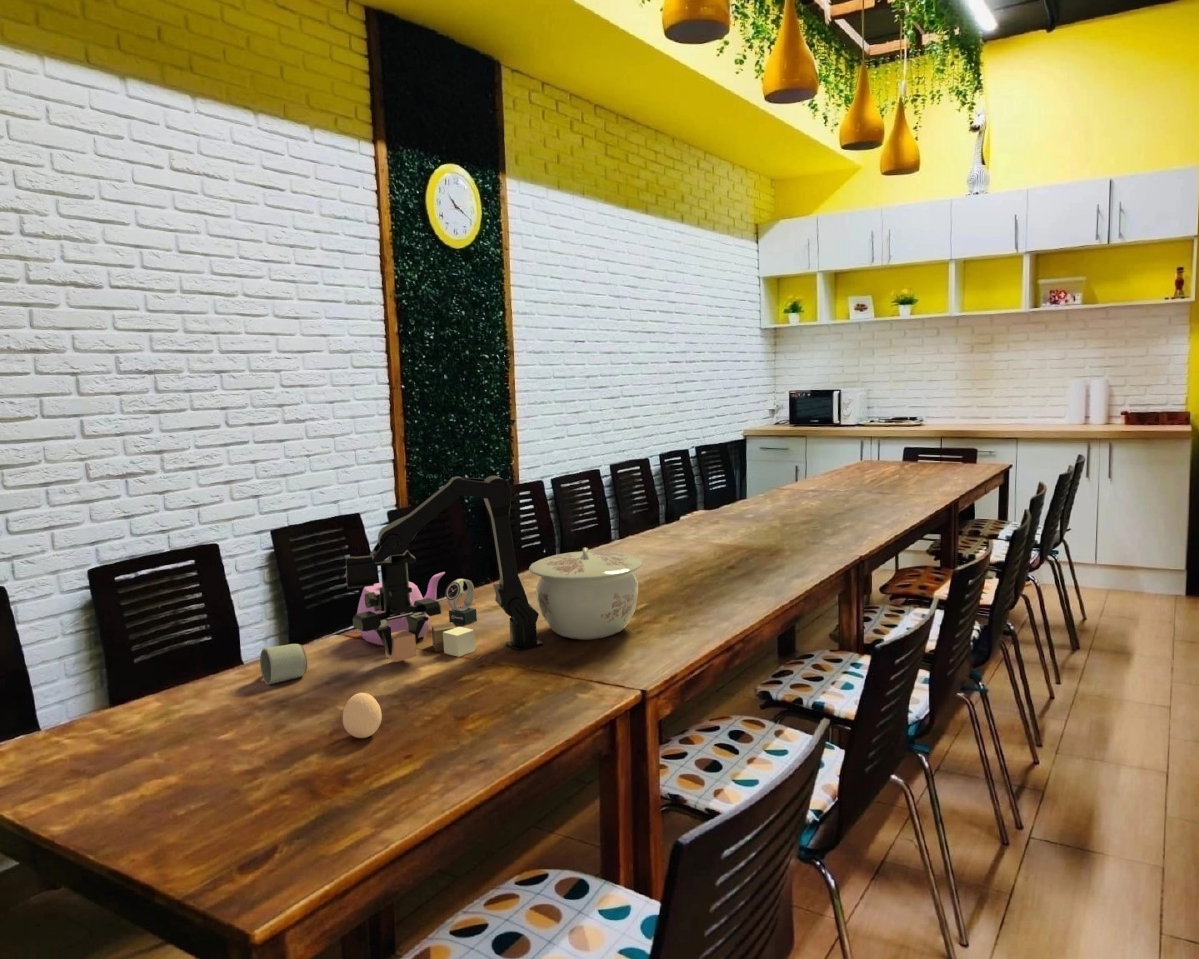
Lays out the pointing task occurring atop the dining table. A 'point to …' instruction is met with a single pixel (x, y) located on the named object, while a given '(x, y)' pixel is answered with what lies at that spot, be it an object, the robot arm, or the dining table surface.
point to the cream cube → (459, 641)
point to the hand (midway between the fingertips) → (400, 651)
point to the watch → (464, 613)
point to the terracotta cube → (402, 646)
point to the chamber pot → (587, 592)
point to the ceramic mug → (283, 663)
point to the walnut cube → (440, 634)
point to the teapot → (402, 622)
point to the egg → (362, 715)
